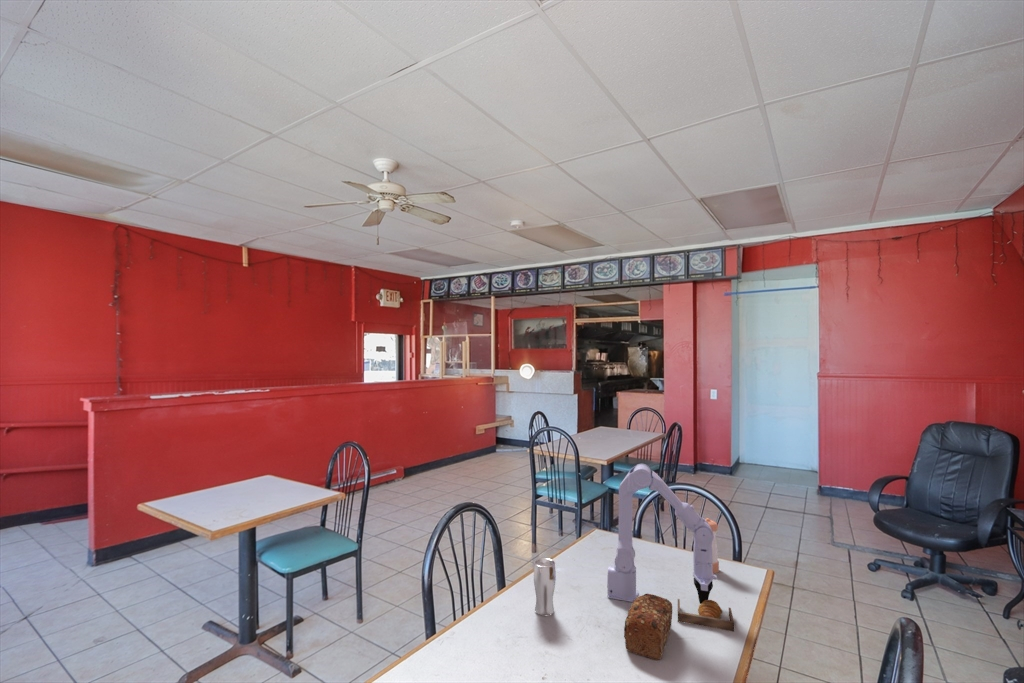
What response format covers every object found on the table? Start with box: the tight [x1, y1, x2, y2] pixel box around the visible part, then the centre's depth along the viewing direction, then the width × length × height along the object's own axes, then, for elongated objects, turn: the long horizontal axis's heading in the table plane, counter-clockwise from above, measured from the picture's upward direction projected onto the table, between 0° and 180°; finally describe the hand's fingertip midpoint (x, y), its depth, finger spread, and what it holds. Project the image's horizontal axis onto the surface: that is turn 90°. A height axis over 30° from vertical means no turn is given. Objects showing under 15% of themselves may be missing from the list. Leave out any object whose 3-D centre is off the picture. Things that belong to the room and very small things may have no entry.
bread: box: [623, 593, 673, 661], centre depth 132 cm, size 19×11×10 cm, turn 152°
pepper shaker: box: [704, 517, 720, 574], centre depth 178 cm, size 7×7×19 cm
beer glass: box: [533, 557, 557, 616], centre depth 147 cm, size 7×7×15 cm
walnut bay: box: [677, 598, 735, 632], centre depth 143 cm, size 16×9×2 cm, turn 71°
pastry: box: [697, 599, 723, 619], centre depth 144 cm, size 9×7×4 cm
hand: (703, 603), depth 149 cm, fingers closed
